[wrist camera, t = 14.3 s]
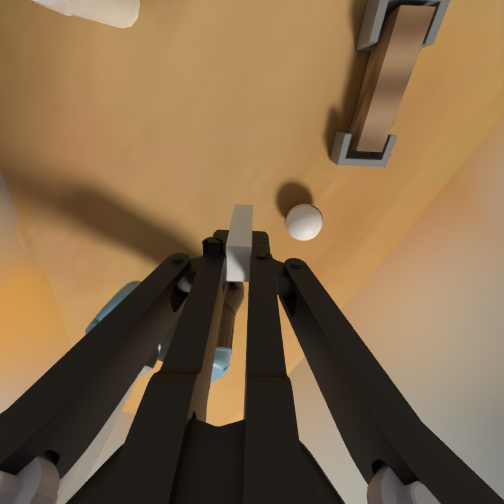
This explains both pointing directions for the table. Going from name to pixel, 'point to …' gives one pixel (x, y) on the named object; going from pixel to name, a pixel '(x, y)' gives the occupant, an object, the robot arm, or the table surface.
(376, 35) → the cap
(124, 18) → the foam cup
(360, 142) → the slat
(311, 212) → the ball
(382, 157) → the cap
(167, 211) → the table surface
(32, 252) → the table surface
